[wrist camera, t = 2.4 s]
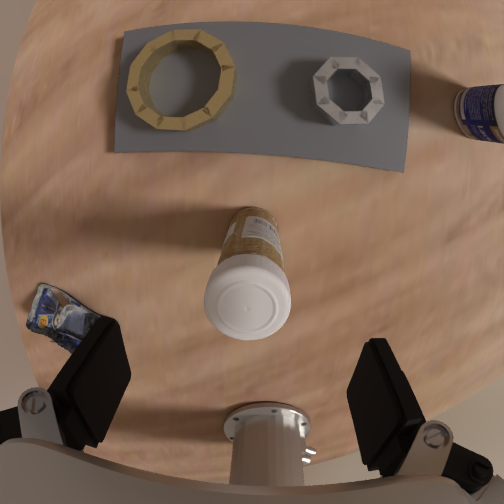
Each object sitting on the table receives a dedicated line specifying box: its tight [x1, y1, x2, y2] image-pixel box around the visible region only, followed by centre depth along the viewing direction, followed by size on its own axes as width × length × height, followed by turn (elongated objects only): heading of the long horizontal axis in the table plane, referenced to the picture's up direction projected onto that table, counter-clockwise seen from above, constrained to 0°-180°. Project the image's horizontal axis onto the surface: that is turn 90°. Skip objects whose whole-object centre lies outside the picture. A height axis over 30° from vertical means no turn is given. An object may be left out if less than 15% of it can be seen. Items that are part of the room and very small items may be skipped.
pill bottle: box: [454, 84, 504, 143], centre depth 17 cm, size 6×6×10 cm
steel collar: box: [308, 57, 385, 126], centre depth 20 cm, size 6×6×2 cm
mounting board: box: [114, 22, 411, 173], centre depth 22 cm, size 26×12×2 cm, turn 86°
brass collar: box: [126, 29, 238, 131], centre depth 20 cm, size 8×8×2 cm
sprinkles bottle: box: [204, 207, 291, 340], centre depth 21 cm, size 5×5×13 cm
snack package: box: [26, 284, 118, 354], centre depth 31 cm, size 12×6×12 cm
